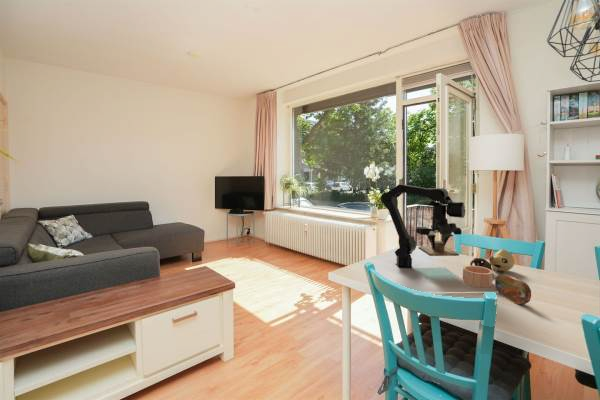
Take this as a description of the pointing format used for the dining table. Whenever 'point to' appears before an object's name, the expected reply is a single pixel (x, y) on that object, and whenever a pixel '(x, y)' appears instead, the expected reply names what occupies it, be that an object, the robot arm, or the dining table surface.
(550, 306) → the dining table surface
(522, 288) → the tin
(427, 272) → the teal mat
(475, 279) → the terracotta bowl
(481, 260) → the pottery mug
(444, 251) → the walnut lid
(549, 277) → the dining table surface
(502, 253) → the yellow rounded lump
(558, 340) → the dining table surface
